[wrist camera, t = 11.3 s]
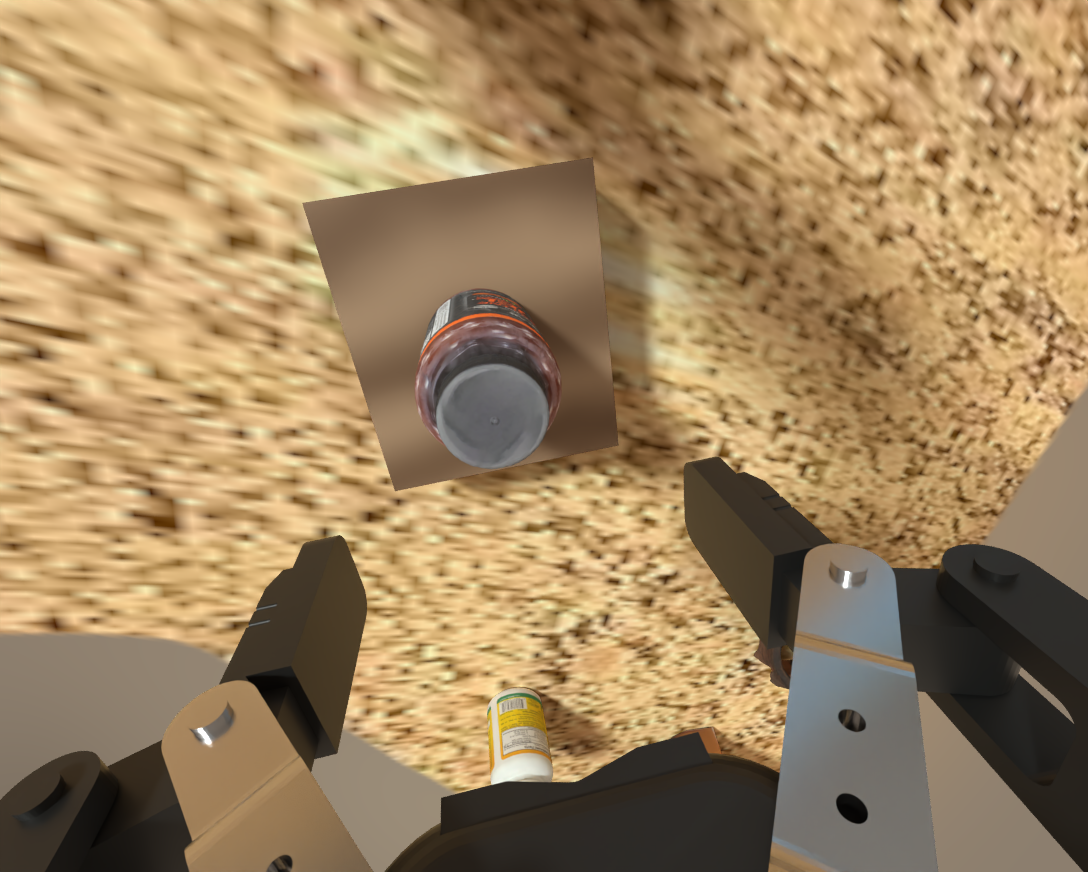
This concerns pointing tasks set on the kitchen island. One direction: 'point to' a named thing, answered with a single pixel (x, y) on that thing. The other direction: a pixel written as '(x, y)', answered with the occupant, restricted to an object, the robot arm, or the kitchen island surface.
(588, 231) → the walnut block
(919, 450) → the kitchen island surface
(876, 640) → the robot arm
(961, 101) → the kitchen island surface
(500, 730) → the supplement bottle
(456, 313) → the supplement bottle
